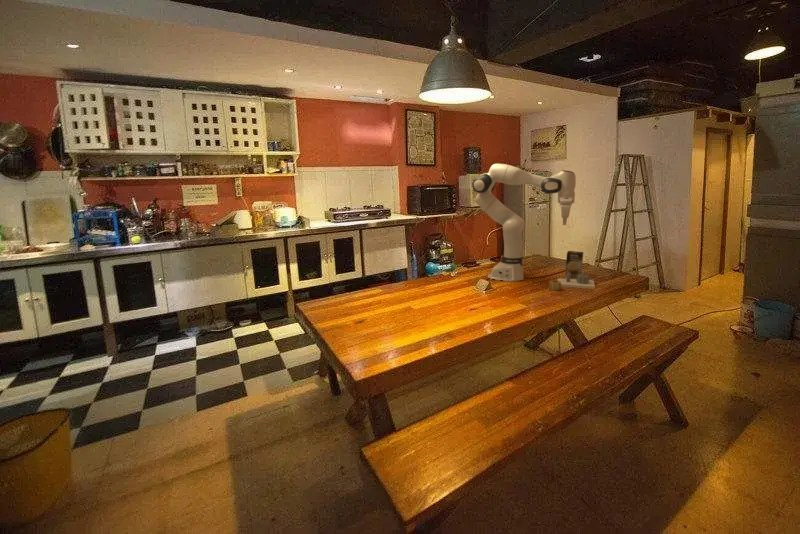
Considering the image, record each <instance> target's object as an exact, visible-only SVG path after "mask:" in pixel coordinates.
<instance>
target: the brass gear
mask: <svg viewBox="0 0 800 534" xmlns="http://www.w3.org/2000/svg"><path fill="white" fill-rule="evenodd" d="M548 290H551V291H554V292H555V291H560V290H562V287H561V282H560V281H558V280H549V282H548Z"/></svg>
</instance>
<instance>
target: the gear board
mask: <svg viewBox="0 0 800 534" xmlns="http://www.w3.org/2000/svg"><path fill="white" fill-rule="evenodd" d="M570 276H571V273H567V277H566V278H560V277H559V278H558V277H557V281H560V282H561V288H562V287H563V288H575V289H576V288H577V289H588V290H589V289H591V290H595V289H596V285H595V284H596V283H595V281H594V280H591V279H590V275H588V274H586V273H585V272H583V273H582V274H580V275H577V278H570Z"/></svg>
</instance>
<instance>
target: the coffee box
mask: <svg viewBox="0 0 800 534" xmlns="http://www.w3.org/2000/svg"><path fill="white" fill-rule="evenodd" d="M583 260H584V251H573V250H568V251H567V253H566V262H565V275H564V277H565V278H567V273H571V276H570V279H577V275H580V274H582V271H583V262H584V261H583Z"/></svg>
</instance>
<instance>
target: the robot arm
mask: <svg viewBox="0 0 800 534" xmlns="http://www.w3.org/2000/svg"><path fill="white" fill-rule="evenodd" d="M576 182H577V181H576V173H575V172H573V171H571V170H563V169H562V170H561V171H559V172H558V173H556V174H553V175H551V176H543V175H537V174H533V173H530V172H528V171H525V170H524V169H522V168H520V167H516V166H514V165H510V164H507V163H506V164H505V163H494V164H492V165H491V166H490V168H489V170H488V172H485V173H482V174H481V173H480V174H479V175H478V176H476V177H475V178H473V180H472V183H471V187H472V189H473V191H474V192H476V196H475V199H474V200H475V202H476V204H477V206H478V207H479V208H480V209H481V211H483V213H485V214H486V215H488V216H489V218H491V219H492V220H493V222H496V223H498V224H499V225H500V226H502V234H503V235H502V236H503V243H504V244H503V246H504V247H503V248H504V249H503V254H502V255H501V256H500V262H498V263H497V264H495V265H494V266H493V267H492V268H491V273H489V274H488V275H487V279H488V278H490V279H489V280H492V279H495V280H494V281H500V280H503V281H502V282H508V281H509V283H510V282H518V281H519V282H520V281H522V280H524V279H525V277H524V271H523V266H524V265H523V264H524V257H523V237H522V236H523V235H522V232H523V231H524V229H525V227H526V225H525V220H524V219H523V218H522V217H521V216H519V215H518V214H517V213H516V212H514V211H512V210H511V209H510V208H508V207H507V206H506V205H504V203H503V202H501V201H500V200H499V199H498V198H497V197H496V196H494V194H493V193H492V192H493V191H494V190H495V187H496V184H497V183H501V184H505V185H510V186H511V185H512V186H520V185H529V186H535V187H539V188H540V189H541V191H542V192H543V193H545V194H548V195H552V194H557V204H559V206H560V212H561V213H560V214H561V215H560V216H561V218H562V225H563V226H567V222H568V221H567V220H568V218H569V217H570V213H571V207H572V205H573V204H574V203H575V197H576V193H575V189H576V184H577V183H576Z"/></svg>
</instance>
